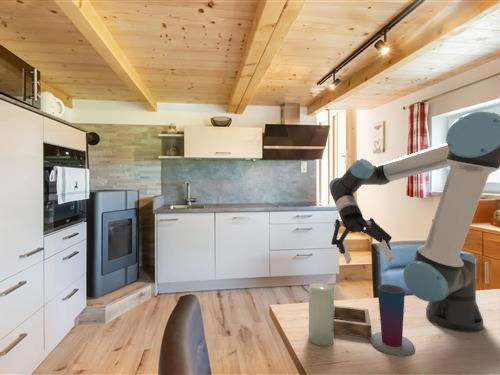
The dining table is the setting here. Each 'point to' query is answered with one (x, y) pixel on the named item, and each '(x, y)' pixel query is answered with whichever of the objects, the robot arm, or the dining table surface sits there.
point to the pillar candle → (321, 314)
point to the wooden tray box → (350, 326)
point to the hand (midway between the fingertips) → (369, 260)
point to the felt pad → (403, 350)
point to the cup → (391, 313)
